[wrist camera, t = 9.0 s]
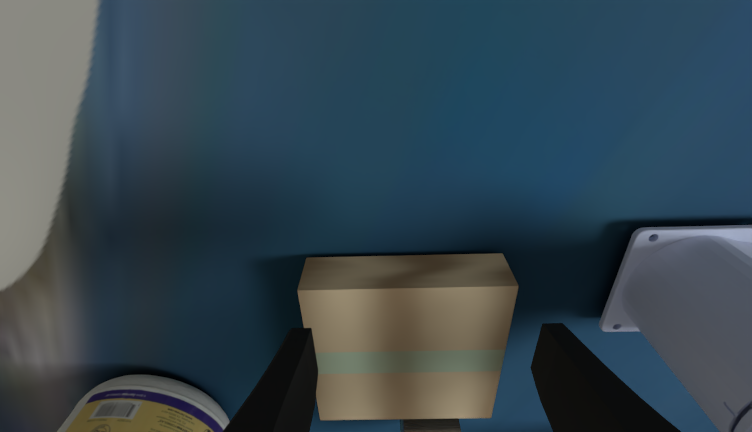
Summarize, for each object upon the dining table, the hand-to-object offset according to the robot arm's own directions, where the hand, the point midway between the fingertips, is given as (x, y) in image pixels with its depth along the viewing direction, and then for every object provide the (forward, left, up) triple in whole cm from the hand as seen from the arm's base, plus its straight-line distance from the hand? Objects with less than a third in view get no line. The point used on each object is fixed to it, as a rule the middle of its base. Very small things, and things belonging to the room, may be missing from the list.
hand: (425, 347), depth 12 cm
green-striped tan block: (0, +10, -10) cm, 14 cm away
